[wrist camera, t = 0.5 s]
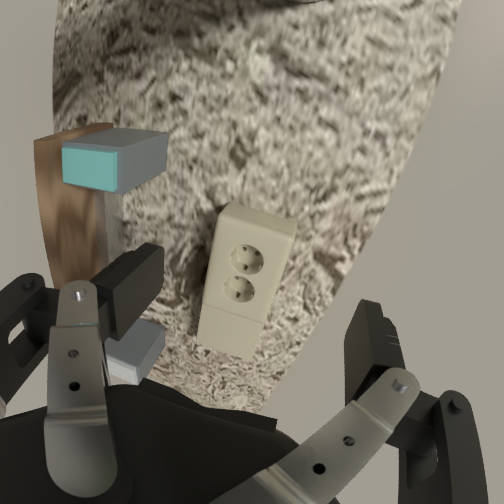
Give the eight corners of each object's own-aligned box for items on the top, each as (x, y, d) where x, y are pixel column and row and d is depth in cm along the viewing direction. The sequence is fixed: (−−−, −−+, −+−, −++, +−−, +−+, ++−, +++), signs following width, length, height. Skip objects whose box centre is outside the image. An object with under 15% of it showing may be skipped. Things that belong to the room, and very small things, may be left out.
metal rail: (112, 162, 31) (93, 170, 28) (122, 163, 31) (103, 172, 28) (122, 311, 42) (110, 326, 39) (130, 314, 42) (118, 330, 39)
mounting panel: (100, 122, 29) (33, 140, 20) (113, 123, 29) (46, 141, 20) (115, 328, 44) (81, 371, 36) (125, 332, 44) (92, 377, 36)
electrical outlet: (193, 347, 36) (216, 214, 27) (203, 326, 40) (229, 200, 31) (248, 366, 36) (294, 239, 27) (255, 343, 39) (298, 221, 30)
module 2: (122, 311, 42) (91, 350, 35) (164, 326, 41) (136, 370, 34) (125, 330, 44) (97, 368, 37) (165, 345, 43) (140, 388, 36)
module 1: (113, 127, 29) (58, 143, 22) (168, 132, 28) (118, 148, 21) (112, 162, 31) (60, 185, 24) (165, 170, 30) (117, 197, 23)
